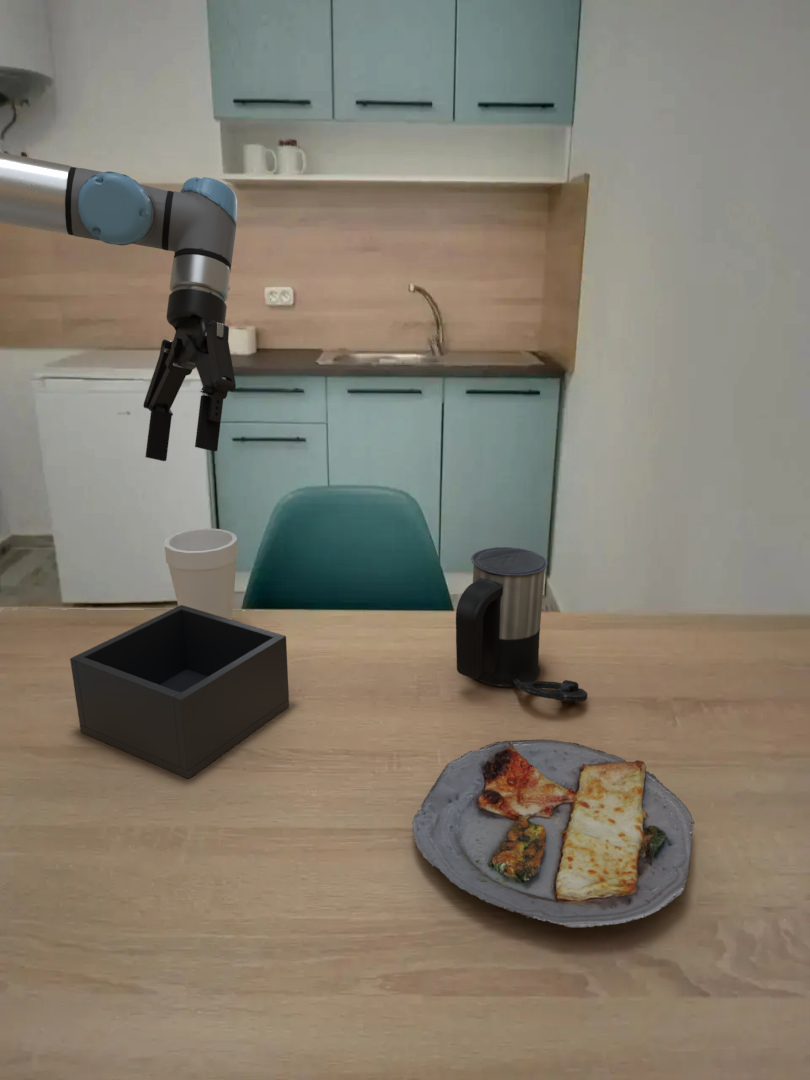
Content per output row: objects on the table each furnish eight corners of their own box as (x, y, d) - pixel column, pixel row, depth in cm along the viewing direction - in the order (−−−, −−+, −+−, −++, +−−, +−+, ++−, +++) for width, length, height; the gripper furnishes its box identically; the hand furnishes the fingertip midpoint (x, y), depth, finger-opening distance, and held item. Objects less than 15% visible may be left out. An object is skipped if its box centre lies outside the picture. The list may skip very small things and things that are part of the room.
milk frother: (477, 647, 109) (482, 541, 104) (598, 668, 104) (609, 558, 99) (444, 700, 97) (447, 583, 92) (580, 727, 92) (591, 604, 86)
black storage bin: (80, 732, 90) (69, 658, 87) (187, 670, 103) (181, 604, 100) (188, 779, 82) (180, 700, 79) (289, 706, 95) (286, 635, 92)
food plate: (473, 735, 90) (474, 707, 89) (698, 787, 81) (703, 757, 80) (378, 893, 68) (378, 858, 67) (673, 986, 60) (678, 948, 59)
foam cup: (255, 630, 113) (250, 541, 109) (194, 651, 108) (186, 558, 103) (219, 608, 120) (213, 523, 116) (160, 627, 114) (151, 538, 110)
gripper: (274, 284, 104) (256, 450, 101) (179, 326, 122) (161, 467, 120) (222, 262, 99) (202, 437, 96) (130, 309, 117) (111, 457, 115)
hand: (179, 454), depth 108 cm, fingers open, 13 cm apart
